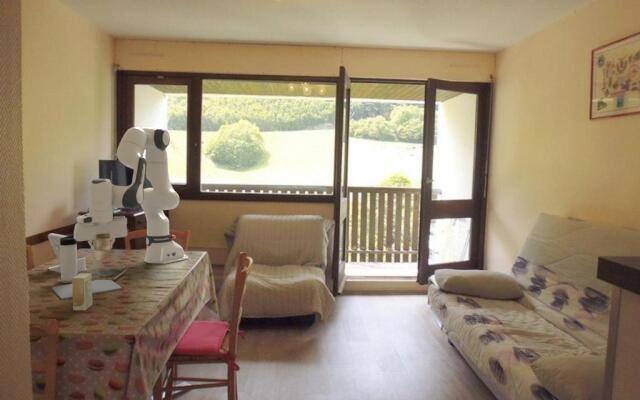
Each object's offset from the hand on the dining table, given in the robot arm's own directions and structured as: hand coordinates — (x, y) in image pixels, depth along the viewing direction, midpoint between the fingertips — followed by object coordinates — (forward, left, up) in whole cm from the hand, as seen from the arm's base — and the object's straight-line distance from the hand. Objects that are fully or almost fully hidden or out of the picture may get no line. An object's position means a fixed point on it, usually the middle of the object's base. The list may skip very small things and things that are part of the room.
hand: (101, 249), depth 177 cm
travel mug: (+9, -16, -16) cm, 25 cm away
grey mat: (+6, 0, -16) cm, 17 cm away
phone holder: (+5, -37, -16) cm, 41 cm away
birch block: (0, 0, -4) cm, 4 cm away
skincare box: (+13, +23, -16) cm, 31 cm away
